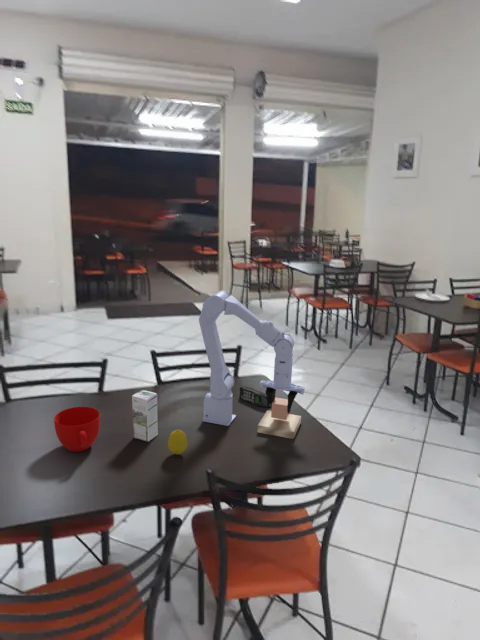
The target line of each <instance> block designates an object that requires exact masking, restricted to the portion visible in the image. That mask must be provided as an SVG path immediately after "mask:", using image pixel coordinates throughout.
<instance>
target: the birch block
mask: <svg viewBox="0 0 480 640" xmlns="http://www.w3.org/2000/svg"><path fill="white" fill-rule="evenodd" d="M301 423H302V415H297V414H293V413H292V414H291V413H289V415H288V417H287V419H286V420H283V419H278V418H272V417H271V410H269V409H267V410H266V412H265V413H264V415H263V416H262V418H261V419H260V420H259V423H258V424H257V433H259V434H265V435H269V436H275V437H276V436H277V437H282V438H287V439H290V440H294V439H295V437H296V434H297V433H298V431H299V428H300V426H301Z"/></svg>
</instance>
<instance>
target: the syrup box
mask: <svg viewBox="0 0 480 640" xmlns="http://www.w3.org/2000/svg"><path fill="white" fill-rule="evenodd" d="M131 396H132V397H131V402H132V403H131V404H132V407H131V408H132V431H133V433H132V435H133V438H134V439H137V440H140V441H142V442H143V441H144V442H148V443H149V442H150V441H151V440H153V439H155V437H157V436H158V434H159V431H158V430H159V428H158V427H159V425H158V393H156V392H152V391H148V390H146V389H145V390H144V389H142V390H140V391H138V392H136V393H134V394H133V395H131Z"/></svg>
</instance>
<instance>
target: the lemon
mask: <svg viewBox="0 0 480 640" xmlns="http://www.w3.org/2000/svg"><path fill="white" fill-rule="evenodd" d="M167 445H168V446H167V447H168V449H169V452H171V453H173V454H175V455H181V454H183V453H184V452H185V451H186V449H187V446H188V438H187V435H186V433H185V432H184V431H182V430H181V429H176V430H173V431H172V432H171V433H170V434H169V436H168V440H167Z"/></svg>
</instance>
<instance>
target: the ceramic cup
mask: <svg viewBox="0 0 480 640" xmlns="http://www.w3.org/2000/svg"><path fill="white" fill-rule="evenodd" d="M53 424H54V430H55V435H56V437H57V439H58V441H59V442H60V443H61V445H62V446H63V447H65V448H66V449H67V450H68V451H69V452H72V453H79V452H83V451H86V450H88V449H89V448H91V446H92V445H93V444H94V443H95V441H96V440H97V438H98V435H99V431H100V427H101V412H100V411H99V410H98V409H97V408H94V407H91V406H74V407H69V408H66V409H63V410H61V411H59V412H57V413H56V414H55V415H54V418H53Z"/></svg>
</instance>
